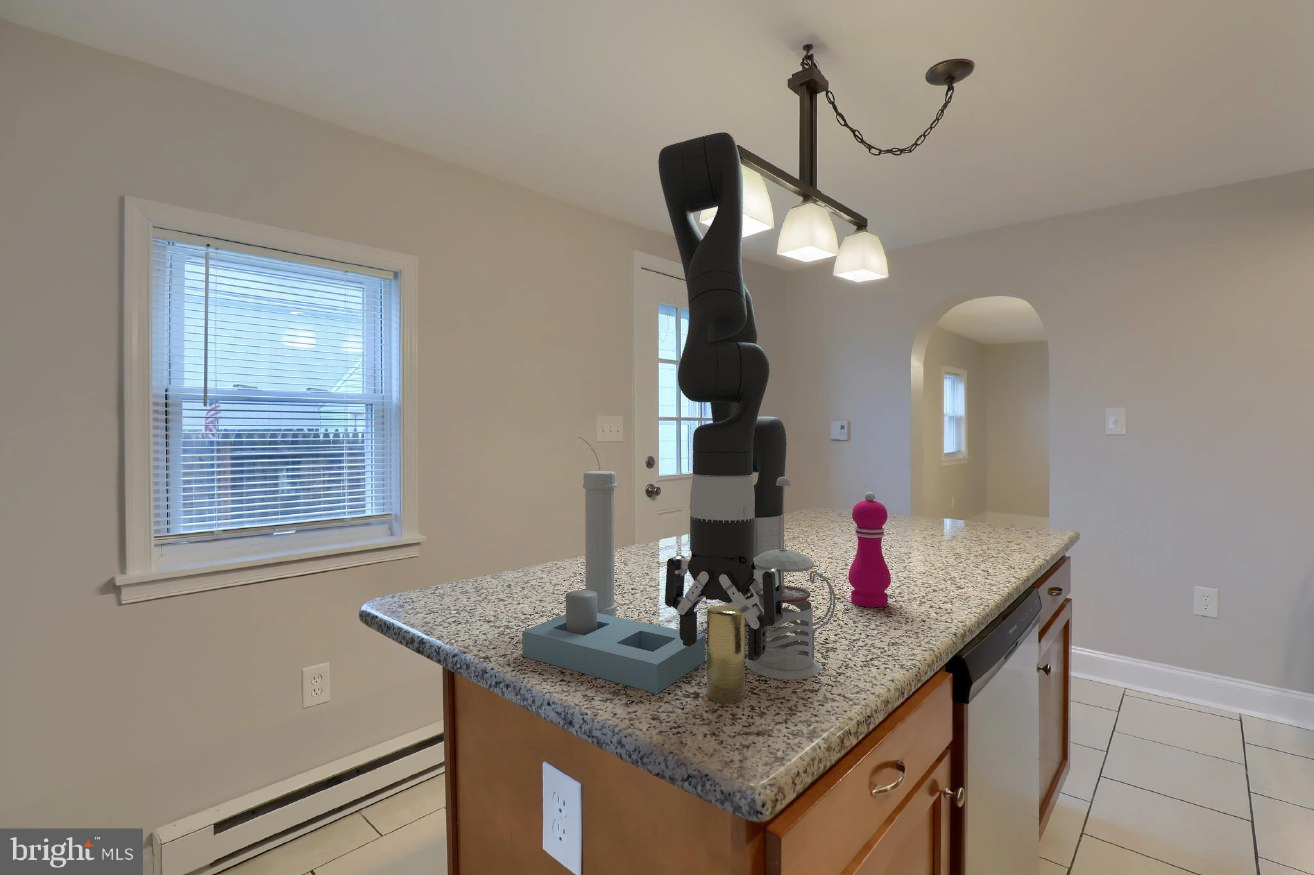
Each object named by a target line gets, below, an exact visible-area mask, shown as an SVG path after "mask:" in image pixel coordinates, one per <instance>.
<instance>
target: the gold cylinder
mask: <svg viewBox="0 0 1314 875" xmlns="http://www.w3.org/2000/svg"><path fill="white" fill-rule="evenodd" d="M745 627H746V624H745V616H744V615H743V613H742V612H740V611H739V610H738V609H737V607H736V606H728V605H726V604H722V605H714V606H710V607H708V608H707V609H706V697H707V698H708V699H709V700H710V701H712V702H714V703H717V704H724V705H733V704H739V703H740V702H742V701H744V699H745V697H746V696H745V694H746V690H745V687H746V686H745V683H746V680H745V678H746V677H745V676H746V675H745V674H746V672H745V671H746V669H745V668H746V667H745V666H746V659H745V658H746V656H745V655H746V654H745V653H746V646H745V645H746V641H745V639H746V638H745V636H746V633H745V631H746V630H745Z"/></svg>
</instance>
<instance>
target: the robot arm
mask: <svg viewBox="0 0 1314 875" xmlns="http://www.w3.org/2000/svg"><path fill="white" fill-rule="evenodd" d="M739 153H740V152H739V148H738V146H737V143H736V141H735V138H734V137H733V135H731V134H730V133H728V132H716V133H711V134H707V135H703V136H698V137H695V138H692V139H691V138H690V139H687V140H684V141H683V140H682V141H680V142H675V143H673V144H669V145H667V146H664V147H663V148H661V149H660V151H659V154H658V164H657V165H658V174H659V180H660V183H661V184H660V185H661V189H662V192H663V197H664V201H665V205H666V208H667V209H666V210H667V211H668V215H669V216H668V217H669V218H670V223H671V227H672V230H673V234H674V236H675V241H676V244H677V249H678V251H679V255H680V261H681V265H682V268H683V273H684V280H685V284H686V289H687V303H688V328H687V333H686V338H685V344H684V347H683V351H682V352H681V358H680V362H679V365H678V369H677V383H678V386H679V387H678V388H679V390H680V391H681V393H682V394H683V396H684V397H685V398H687V399H688V400H690V401H691V402H695V403H709V404H710V412H711V419H712V421H711V422H710V423H709V422H708V423H704V424H702V425H699V426H697V427H696V428H695V430H694V432H693V435H692V475H691V476H692V477H691V486H690V493H689V496H690V498H689V550H690V553H691V556H690V559H689V558H686V556H684V555H682V554H679V555H674V556H672V557H670V558H668V559H667V560H666V574H665V591H664V592H665V593H664V604H665V606H666V607H667V608H671V607H672V608H674V609H675V610H676V611H677V613H678V615H679V630H680V638H681V640H683V645H684V646H689V647H690V646H691V645H693V644H695V643H696V641H697V634H698V612H697V611H695V609H696V608H697V606H699V604H700V602H701V601H702V600H704V598H705V600H708V601H717V600H718V601H720V602H722V603H724V604H725V605H728V606H736V607H737V609H738V610H739V611H740V612H742V613H743V615H744V616H745V625H748V626H750V627H747V629H748V630H747V636H748V637H747V640H748V641H747V658H748V659H749V660H751V661H756V660H758V659H759V658H760V657H761V655H763V654H764V653H765V651H766V642H767V638H766V632H767V629H766V627H767V626H772V625H774V624H776V623H777V622H779V621H780V620H782V618H783V608H784V607H783V605H784V603H782V572H781V571H780V570H779V569H778V568H776V567H775V568H772V569H770V570H766V569H760V568H757V567H756V566H755V564H754V560H753V559H754V558H755V557H757V556H758V555H760V554H761V553H764V552H767V551H770V550H777V549H781V548H783V487H782V486H777V485H776V483H777V479H778V478H779V477H786V475H785V474H786V462H787V461H786V460H787V433H786V428H785V425H784V423H783V421H782V420H781V419H780V418H778V417H776V416H759V413H760V409H761V407H762V403H763V398H764V396H765V393H766V390H767V386H768V382H769V378H770V362H769V359H768V356H767V354H766V351H764V349H763V348H762V347H761V346H760V345H758V344H757V342H758V328H757V323H756V322H757V321H756V317H755V310H754V305H753V299H752V296H751V294H750V292H749V290H748V289H747V287H746V286H745V284H744V277H743V263H742V262H743V261H742V256H743V255H742V252H743V251H742V250H743V249H742V248H743V246H742V245H743V232H744V231H743V230H744V229H743V226H744V178H743V177H744V176H743V175H744V174H743V168H742V162H741V158H740V154H739ZM715 208H717V210H716V212H715V215H714V217H713V220H712V222H711V224H710V226H709V228H708V230H707V231H706V233H705V234H704V236H703V235H702V233H701V231H700V229H699V227H698V224H697V222H696V221H695V217H694V213H697V212H701V211H706V210H711V209H715ZM754 473H757V474H758V475H757V480H756V482H755V484H754V479H753V478H754V475H753V474H754ZM688 572H689V574H690V576H691V578H692V579H693V581H694V582H693V583H692V584H691V586H690V587H689V588H688V590H687V591H686V593H684V592H685V579H686V578H685V576H686V575H687V573H688ZM759 587H760V588H762V589H763V600H764V610H763V608H762V607H761V605H760V603H759V596H758V595H757V594H756V590H757V589H758V588H759ZM684 594H685V595H684Z"/></svg>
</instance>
